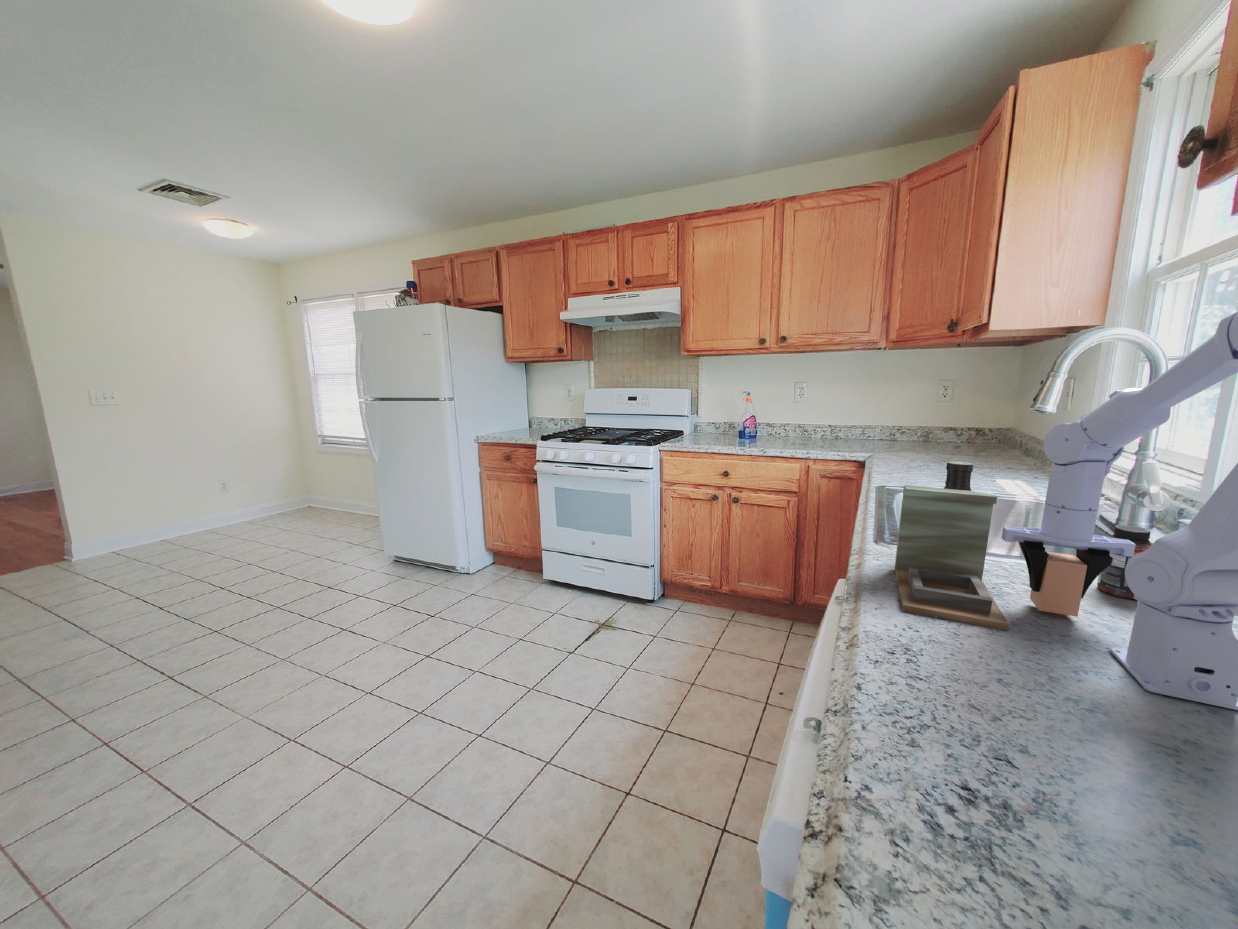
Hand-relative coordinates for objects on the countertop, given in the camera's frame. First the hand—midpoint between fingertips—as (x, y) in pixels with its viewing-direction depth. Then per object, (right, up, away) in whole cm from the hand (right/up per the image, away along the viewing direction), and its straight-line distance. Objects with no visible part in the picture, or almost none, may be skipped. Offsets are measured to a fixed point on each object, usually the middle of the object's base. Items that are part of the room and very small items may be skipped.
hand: (1055, 592), depth 72 cm
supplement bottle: (+18, -2, +7) cm, 19 cm away
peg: (0, -2, 0) cm, 2 cm away
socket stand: (-13, -2, +6) cm, 14 cm away
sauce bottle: (-3, 0, +20) cm, 20 cm away
